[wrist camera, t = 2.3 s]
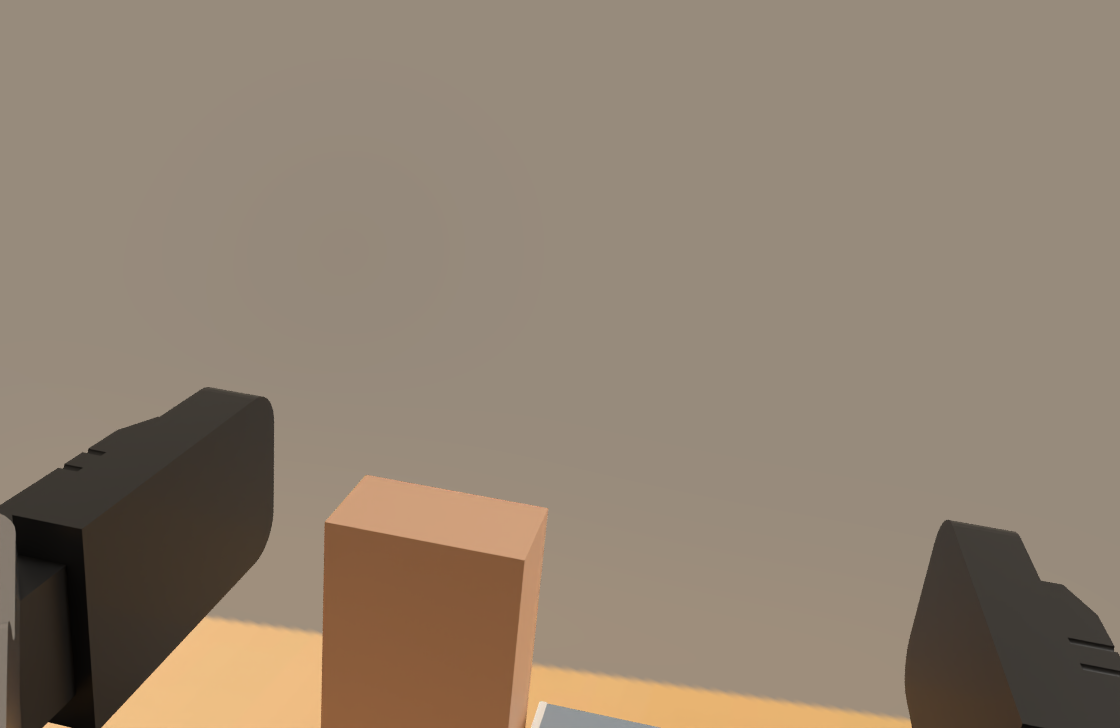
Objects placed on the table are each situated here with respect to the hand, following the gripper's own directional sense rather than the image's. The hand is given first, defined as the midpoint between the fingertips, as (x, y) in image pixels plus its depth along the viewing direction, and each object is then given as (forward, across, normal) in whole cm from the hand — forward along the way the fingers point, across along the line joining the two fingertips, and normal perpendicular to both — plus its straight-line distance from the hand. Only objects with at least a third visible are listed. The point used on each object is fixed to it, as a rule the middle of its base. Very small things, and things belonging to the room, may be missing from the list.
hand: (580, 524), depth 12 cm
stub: (+14, +6, +23) cm, 27 cm away
